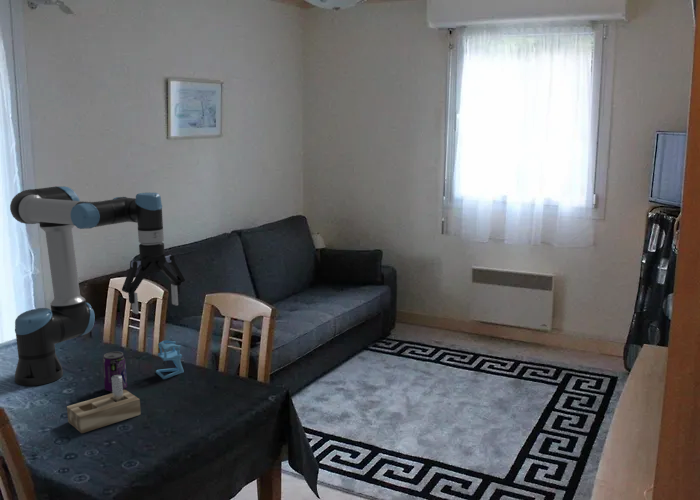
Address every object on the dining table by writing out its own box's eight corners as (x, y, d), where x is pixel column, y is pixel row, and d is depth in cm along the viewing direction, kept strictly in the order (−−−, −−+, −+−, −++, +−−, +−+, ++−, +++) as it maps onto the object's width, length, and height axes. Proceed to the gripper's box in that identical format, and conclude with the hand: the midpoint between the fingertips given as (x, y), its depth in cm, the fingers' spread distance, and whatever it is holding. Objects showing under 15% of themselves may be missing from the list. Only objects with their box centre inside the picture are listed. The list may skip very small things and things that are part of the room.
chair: (186, 374, 238) (184, 341, 236) (163, 379, 234) (161, 346, 231) (178, 367, 244) (176, 335, 242) (155, 372, 240) (153, 340, 238)
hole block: (68, 422, 202) (66, 406, 201) (126, 404, 214) (125, 389, 213) (81, 433, 195) (80, 417, 194) (140, 414, 206) (139, 399, 205)
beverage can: (120, 394, 222) (117, 359, 219) (100, 392, 223) (97, 357, 221) (131, 385, 228) (128, 351, 226) (112, 384, 230) (109, 350, 228)
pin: (112, 413, 207) (109, 376, 205) (122, 410, 209) (119, 373, 207) (116, 416, 205) (113, 379, 203) (126, 413, 207) (123, 376, 205)
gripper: (118, 250, 201) (123, 319, 205) (193, 239, 217) (196, 303, 222) (107, 246, 206) (112, 314, 210) (181, 236, 223) (185, 299, 227)
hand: (155, 308), depth 216 cm, fingers open, 13 cm apart
